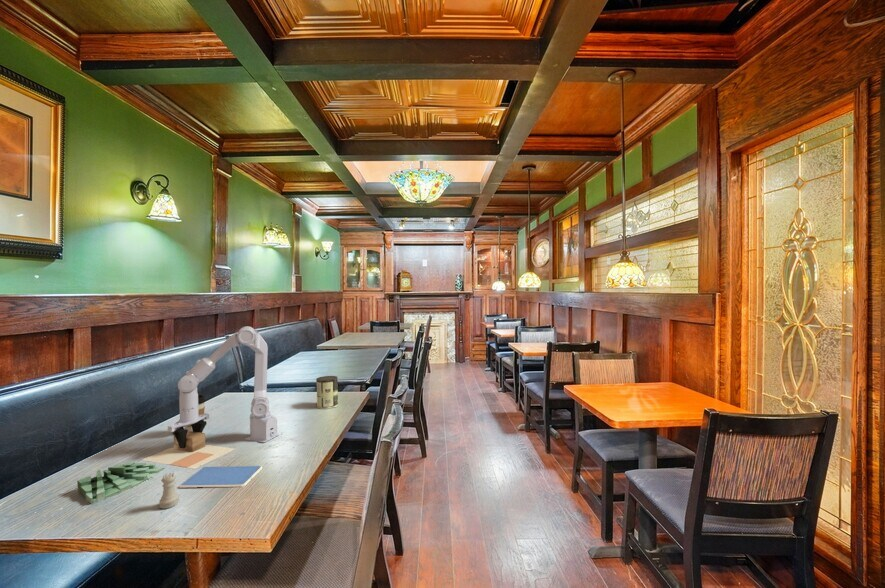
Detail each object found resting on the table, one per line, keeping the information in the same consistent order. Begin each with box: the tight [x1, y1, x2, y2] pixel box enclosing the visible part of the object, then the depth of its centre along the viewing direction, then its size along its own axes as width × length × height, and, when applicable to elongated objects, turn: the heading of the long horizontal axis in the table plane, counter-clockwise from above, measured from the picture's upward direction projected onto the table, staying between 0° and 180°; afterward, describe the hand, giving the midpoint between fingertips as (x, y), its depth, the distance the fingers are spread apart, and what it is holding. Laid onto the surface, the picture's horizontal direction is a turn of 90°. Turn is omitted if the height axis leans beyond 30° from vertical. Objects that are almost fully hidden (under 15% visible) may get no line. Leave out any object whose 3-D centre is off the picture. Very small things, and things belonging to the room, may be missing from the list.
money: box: [76, 461, 166, 505], centre depth 112 cm, size 20×16×5 cm
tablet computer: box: [178, 465, 263, 489], centre depth 116 cm, size 19×13×1 cm, turn 91°
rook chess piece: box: [158, 472, 180, 510], centre depth 101 cm, size 4×4×8 cm
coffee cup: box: [184, 394, 206, 432], centre depth 154 cm, size 8×8×15 cm
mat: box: [141, 444, 235, 470], centre depth 132 cm, size 24×16×1 cm, turn 72°
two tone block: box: [173, 431, 206, 452], centre depth 138 cm, size 9×5×5 cm, turn 72°
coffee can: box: [315, 375, 339, 410], centre depth 188 cm, size 10×10×14 cm
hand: (189, 444), depth 138 cm, fingers closed on two tone block, 5 cm apart
